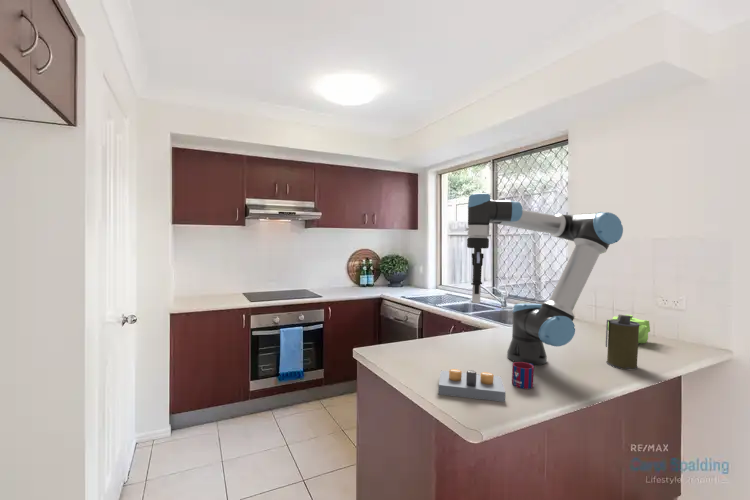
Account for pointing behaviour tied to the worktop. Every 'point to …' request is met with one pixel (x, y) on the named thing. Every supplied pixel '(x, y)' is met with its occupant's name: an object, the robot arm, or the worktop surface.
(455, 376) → the knob
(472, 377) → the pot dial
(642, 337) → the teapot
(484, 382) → the knob
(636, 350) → the canister
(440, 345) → the worktop surface
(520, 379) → the mug
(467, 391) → the mount
